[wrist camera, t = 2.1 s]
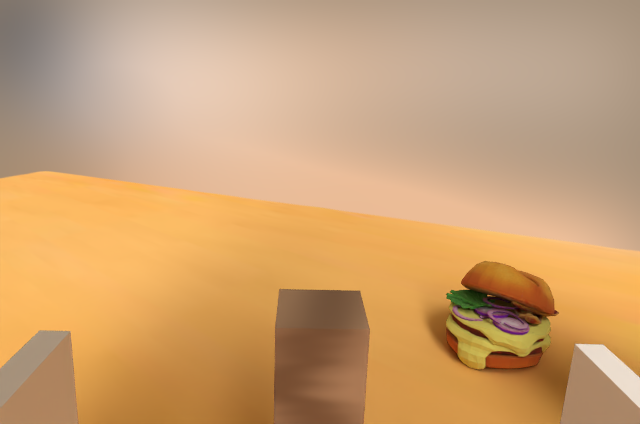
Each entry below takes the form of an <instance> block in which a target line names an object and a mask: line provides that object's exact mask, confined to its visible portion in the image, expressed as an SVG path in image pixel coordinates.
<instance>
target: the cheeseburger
mask: <svg viewBox="0 0 640 424" xmlns="http://www.w3.org/2000/svg"><path fill="white" fill-rule="evenodd" d="M461 284H462V285H463V286H465V287H466V288H467V289H470V290H459V291H454V290H451V291H450V292H451V293H452V294H449V293H447V294H446V295H447V299H450V300H451V304H450V306H449V310H450V311H451V314H450V315H449V317H448V318H447V320H446V335H447V342H448V344H449V345H450V346H451V348H452V349H453V350H454V351H455V352H456V353H457V354H458V357H459V359H460V360H461V361H462V362H463V363H464V364H465V365H467V366H468V367H470V368H474V369H484V368H485V366H487V367H491V368H505V369H509V368H523V367H528V366H533V365H537V363H538V362H539V360H540V358H541V356H542V354H543V353H544V352H545V350H546V349H547V348H548V347H549V346H550V343H551V338H550V336H549V335H548V333H549V332H550V330H551V328H550V321H549V320H548V319H547V318H546V317H547V316H556V315H557V314H559V312H557V311H556V310H555V309H554V299H553V296H552V293H551V291H550V288H549V286H548V285H547V284H546V282H545V281H544V280H543V279H541V278H539V277H536V276H534V275H531V274H529V273H526V272H522V271H518V270H516V269H515V268H513V267H511V266H508V265H505V264H501V263H497V262H488V261H484V262H481V263H479V264H477V265H475V266H474V267H473V268H472V269H471V270H470V271H469V272H468V273H467V274H466V275H465V277H464V278H463V279H462V281H461ZM487 295H492V296H487ZM494 296H496V297H494Z"/></svg>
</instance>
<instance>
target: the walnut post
mask: <svg viewBox="0 0 640 424" xmlns="http://www.w3.org/2000/svg"><path fill="white" fill-rule="evenodd" d="M369 333H370V329H369V325H368V321H367V317H366V313H365V309H364V305H363V301H362V297H361V293H360V291H341V290H291V289H279V298H278V307H277V316H276V325H275V381H274V424H363V423H364V408H365V393H366V378H367V363H368V348H369Z"/></svg>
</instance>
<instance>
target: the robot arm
mask: <svg viewBox="0 0 640 424" xmlns="http://www.w3.org/2000/svg"><path fill="white" fill-rule="evenodd" d="M0 424H78V415H77V403H76V391H75V379H74V368H73V356H72V344H71V332H70V331H39V332H38V333H37V334H36V335H35V336H34V337H32V338H31V339H30V340H29V341H28V342H27V343H26V344H25V345H24V346H23V347H22V348H21V349H20V350H19V351H18V352H17V353H16V354H15V355H14V356H13V357H12V358H11V359H10V360H9V361H8V362H7V363H6V364H5V365H4V366H3V367H2V368H0ZM560 424H640V377H639V376H637V375H636V374H635V373H634V372H633V371H632V370H631V369H630V368H629V367H627V366H626V365H625V364H624V363H623V362H622V361H621V360H620V359H619V358H617V357H616V356H615V355H614V354H613V353H612V352H611V351H610V350H609V349H607V348H606V347H605V346H604V345H597V344H575V346H574V352H573V357H572V363H571V368H570V373H569V379H568V384H567V389H566V395H565V400H564V405H563V411H562V416H561V422H560Z"/></svg>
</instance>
